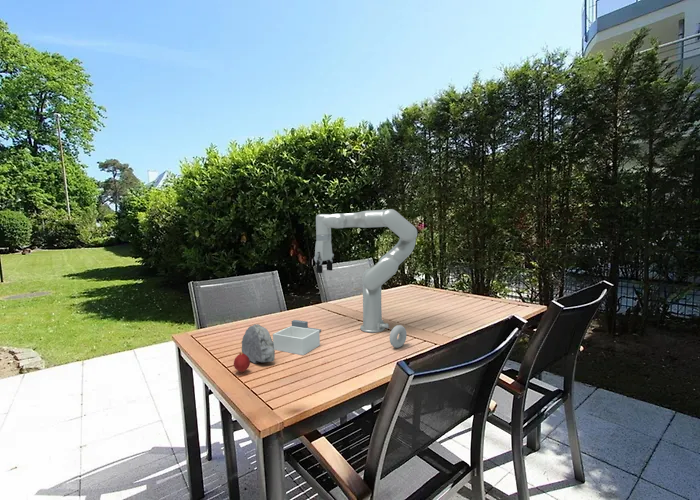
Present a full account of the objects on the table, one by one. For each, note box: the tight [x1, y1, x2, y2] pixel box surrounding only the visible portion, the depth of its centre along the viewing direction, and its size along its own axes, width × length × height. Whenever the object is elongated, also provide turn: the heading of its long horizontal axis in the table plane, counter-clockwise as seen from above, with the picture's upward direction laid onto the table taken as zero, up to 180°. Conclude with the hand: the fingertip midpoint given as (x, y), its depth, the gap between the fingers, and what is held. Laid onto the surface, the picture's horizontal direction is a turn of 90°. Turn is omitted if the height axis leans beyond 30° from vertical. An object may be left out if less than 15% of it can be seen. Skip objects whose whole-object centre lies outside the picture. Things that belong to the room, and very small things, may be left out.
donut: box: [389, 324, 408, 349], centre depth 152 cm, size 10×3×10 cm, turn 133°
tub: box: [272, 325, 321, 356], centre depth 155 cm, size 16×13×7 cm
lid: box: [291, 319, 322, 333], centre depth 174 cm, size 17×14×7 cm
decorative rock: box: [241, 324, 276, 364], centre depth 140 cm, size 16×7×15 cm, turn 49°
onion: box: [233, 351, 251, 374], centre depth 130 cm, size 6×6×8 cm
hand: (324, 271), depth 178 cm, fingers open, 9 cm apart
